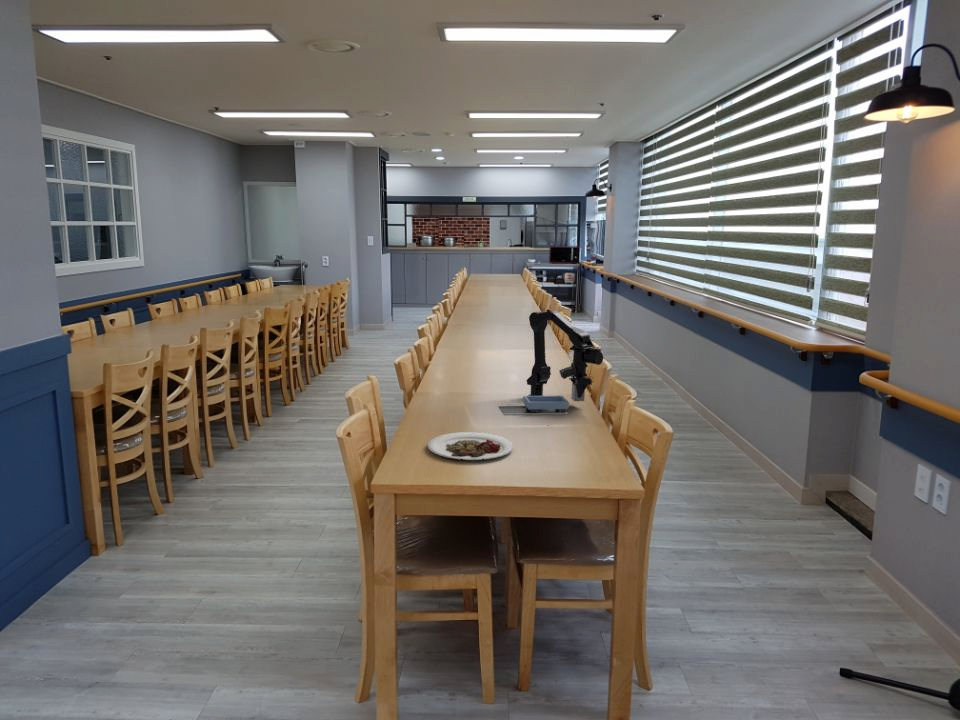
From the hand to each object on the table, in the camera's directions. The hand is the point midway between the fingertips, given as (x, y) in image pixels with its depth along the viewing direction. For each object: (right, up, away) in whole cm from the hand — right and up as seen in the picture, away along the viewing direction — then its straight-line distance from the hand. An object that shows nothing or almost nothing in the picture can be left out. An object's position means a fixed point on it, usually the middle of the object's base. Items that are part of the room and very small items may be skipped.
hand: (577, 396), depth 301 cm
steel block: (0, -2, 0) cm, 2 cm away
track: (-20, -6, -9) cm, 23 cm away
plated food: (-46, -16, -59) cm, 77 cm away
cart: (-15, -6, -8) cm, 18 cm away
